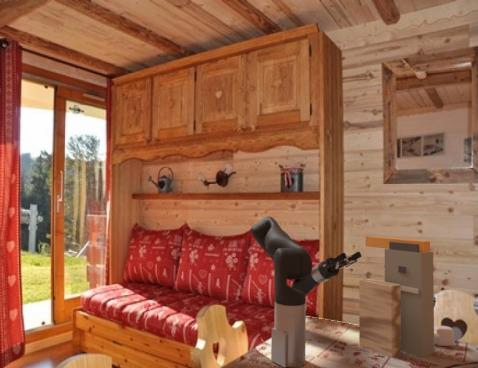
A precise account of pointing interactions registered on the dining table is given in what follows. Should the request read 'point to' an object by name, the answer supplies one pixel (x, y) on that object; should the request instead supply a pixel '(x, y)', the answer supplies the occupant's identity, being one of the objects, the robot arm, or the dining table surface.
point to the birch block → (380, 316)
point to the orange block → (384, 242)
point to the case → (413, 295)
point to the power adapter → (443, 336)
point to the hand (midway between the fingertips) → (352, 254)
